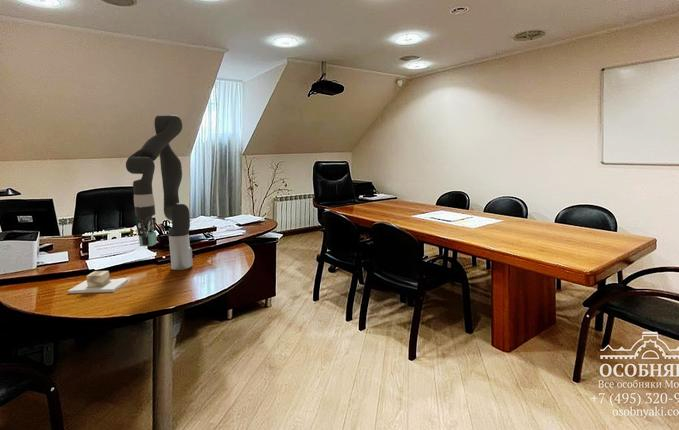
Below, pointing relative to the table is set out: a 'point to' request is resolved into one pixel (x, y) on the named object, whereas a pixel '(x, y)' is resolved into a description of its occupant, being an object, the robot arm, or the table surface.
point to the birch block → (98, 279)
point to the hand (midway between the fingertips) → (148, 243)
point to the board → (109, 287)
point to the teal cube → (149, 239)
